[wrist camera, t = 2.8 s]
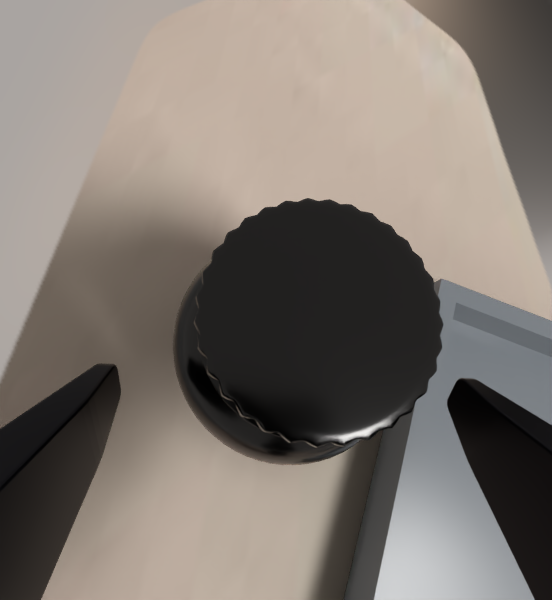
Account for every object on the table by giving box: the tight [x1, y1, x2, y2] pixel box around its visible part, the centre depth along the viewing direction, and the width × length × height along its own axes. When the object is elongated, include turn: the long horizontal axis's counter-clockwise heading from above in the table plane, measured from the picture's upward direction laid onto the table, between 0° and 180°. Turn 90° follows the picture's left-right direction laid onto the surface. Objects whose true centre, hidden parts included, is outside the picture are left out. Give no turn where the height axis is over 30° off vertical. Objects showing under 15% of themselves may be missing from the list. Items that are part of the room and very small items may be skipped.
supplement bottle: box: [173, 198, 444, 465], centre depth 12 cm, size 7×7×12 cm
